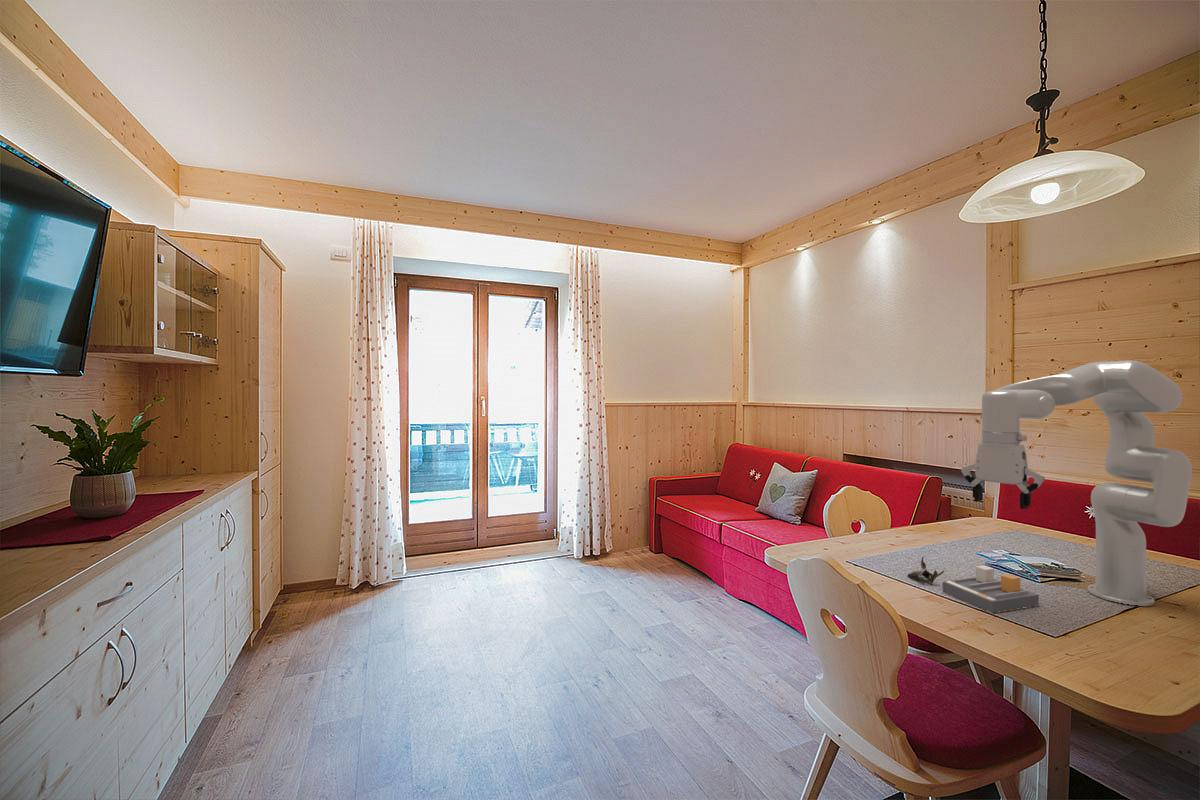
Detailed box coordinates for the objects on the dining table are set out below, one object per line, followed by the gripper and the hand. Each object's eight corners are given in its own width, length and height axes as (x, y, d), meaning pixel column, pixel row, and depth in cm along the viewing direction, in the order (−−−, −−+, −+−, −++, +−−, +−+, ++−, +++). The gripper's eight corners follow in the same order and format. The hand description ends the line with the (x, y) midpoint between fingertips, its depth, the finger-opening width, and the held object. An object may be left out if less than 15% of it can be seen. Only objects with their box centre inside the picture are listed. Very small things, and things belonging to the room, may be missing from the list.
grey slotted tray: (986, 585, 144) (986, 573, 144) (1038, 605, 131) (1038, 591, 131) (942, 591, 140) (942, 578, 140) (992, 613, 127) (992, 598, 127)
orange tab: (1009, 588, 135) (1009, 574, 134) (1020, 592, 132) (1020, 577, 132) (1001, 589, 134) (1000, 575, 134) (1011, 593, 131) (1011, 579, 131)
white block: (984, 578, 141) (983, 565, 141) (993, 582, 139) (993, 568, 139) (975, 580, 141) (975, 566, 141) (985, 583, 138) (985, 569, 138)
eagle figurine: (949, 580, 146) (926, 564, 154) (940, 563, 144) (918, 548, 153) (928, 594, 146) (906, 577, 155) (918, 577, 144) (897, 561, 153)
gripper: (1049, 440, 120) (1049, 509, 120) (968, 435, 135) (968, 496, 135) (1038, 442, 116) (1038, 513, 116) (955, 437, 131) (955, 500, 131)
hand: (1000, 504), depth 126 cm, fingers open, 9 cm apart
